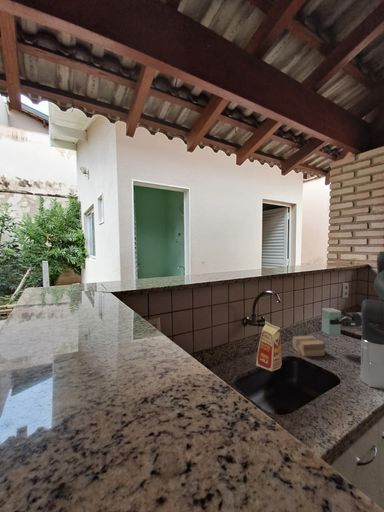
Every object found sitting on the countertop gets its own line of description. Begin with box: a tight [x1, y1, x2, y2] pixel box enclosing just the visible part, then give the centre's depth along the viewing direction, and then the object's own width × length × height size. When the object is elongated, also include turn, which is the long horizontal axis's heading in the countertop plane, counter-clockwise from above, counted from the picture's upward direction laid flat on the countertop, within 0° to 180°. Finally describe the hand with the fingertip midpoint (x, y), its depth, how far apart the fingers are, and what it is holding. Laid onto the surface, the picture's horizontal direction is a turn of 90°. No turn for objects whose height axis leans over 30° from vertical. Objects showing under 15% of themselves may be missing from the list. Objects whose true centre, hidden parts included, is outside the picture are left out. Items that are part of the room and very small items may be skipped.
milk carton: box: [255, 321, 283, 372], centre depth 109 cm, size 9×9×20 cm
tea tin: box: [321, 307, 342, 336], centre depth 122 cm, size 6×6×12 cm
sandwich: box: [292, 335, 326, 357], centre depth 123 cm, size 11×11×6 cm
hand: (326, 320), depth 122 cm, fingers closed on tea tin, 6 cm apart
